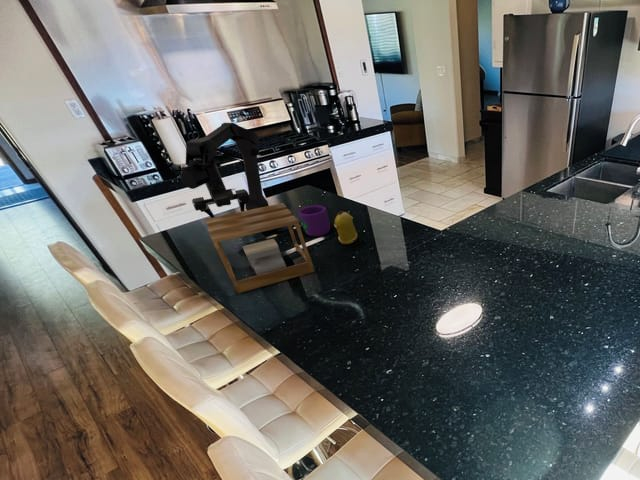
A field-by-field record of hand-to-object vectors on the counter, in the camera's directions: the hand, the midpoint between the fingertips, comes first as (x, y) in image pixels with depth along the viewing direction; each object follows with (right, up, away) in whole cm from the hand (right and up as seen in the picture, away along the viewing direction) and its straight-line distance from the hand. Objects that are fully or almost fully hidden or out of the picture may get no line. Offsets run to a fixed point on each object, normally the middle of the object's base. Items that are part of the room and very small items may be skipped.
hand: (231, 222), depth 155 cm
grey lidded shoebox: (+18, -20, -6) cm, 28 cm away
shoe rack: (+18, -20, -5) cm, 27 cm away
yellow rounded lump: (+42, -5, +11) cm, 44 cm away
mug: (+24, +4, +22) cm, 32 cm away
